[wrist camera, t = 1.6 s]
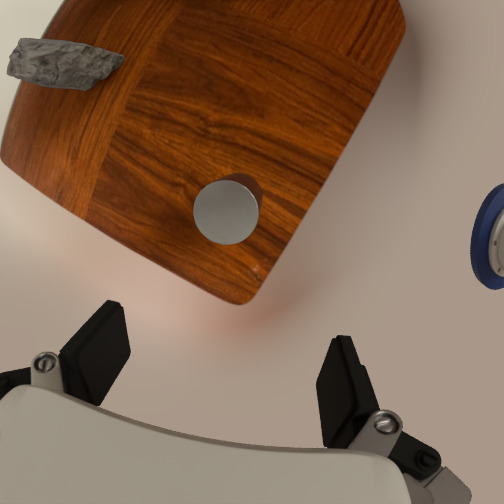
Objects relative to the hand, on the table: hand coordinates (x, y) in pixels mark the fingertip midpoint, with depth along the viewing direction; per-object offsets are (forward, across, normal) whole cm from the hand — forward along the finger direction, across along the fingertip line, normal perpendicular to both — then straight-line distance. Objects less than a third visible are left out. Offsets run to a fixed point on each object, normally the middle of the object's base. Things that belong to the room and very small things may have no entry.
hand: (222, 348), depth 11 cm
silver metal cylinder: (+22, +2, -3) cm, 23 cm away
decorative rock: (+23, +26, -20) cm, 40 cm away
